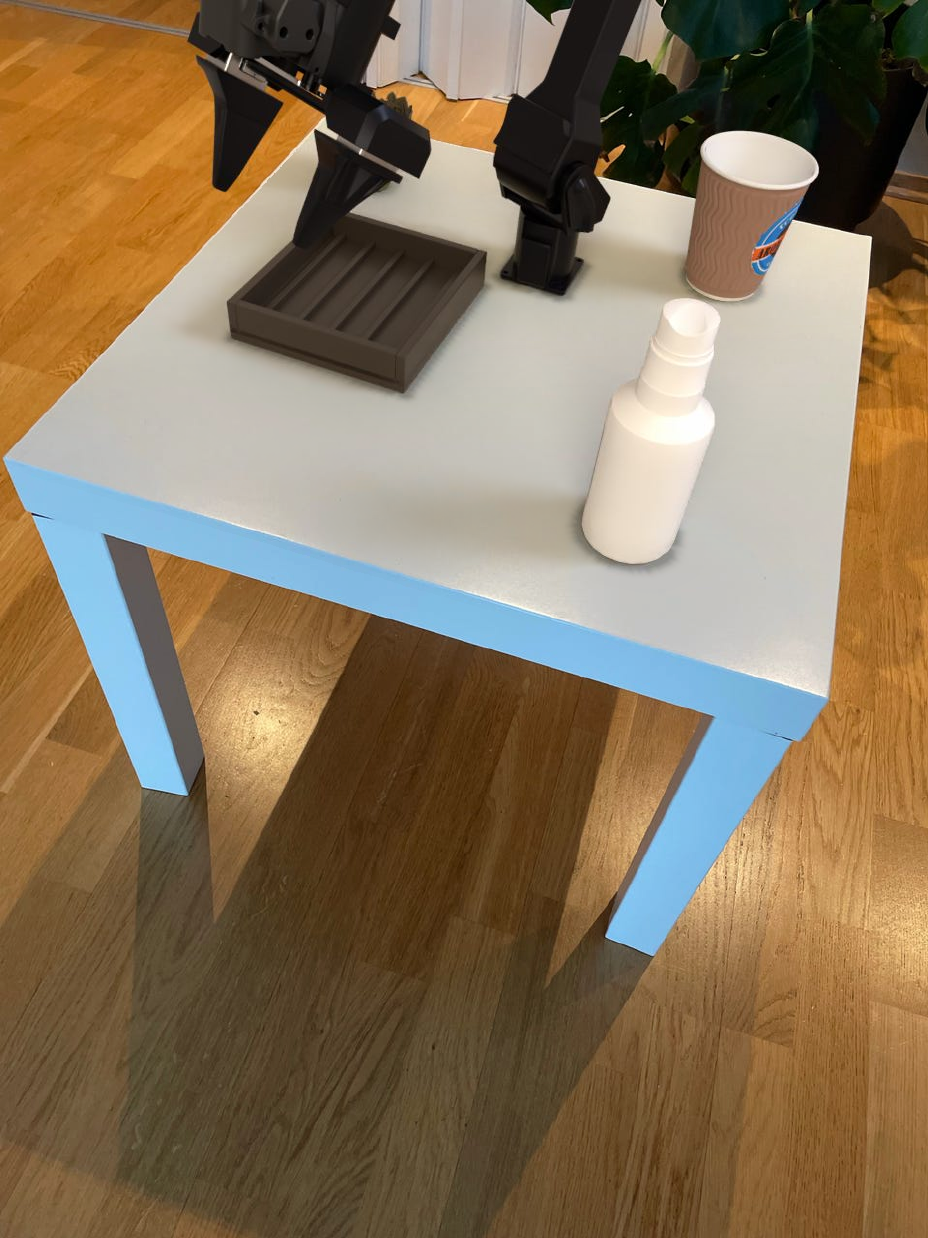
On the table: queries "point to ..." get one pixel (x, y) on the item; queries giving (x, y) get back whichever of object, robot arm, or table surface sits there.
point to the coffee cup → (743, 210)
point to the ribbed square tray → (360, 300)
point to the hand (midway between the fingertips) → (257, 217)
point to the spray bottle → (654, 440)
